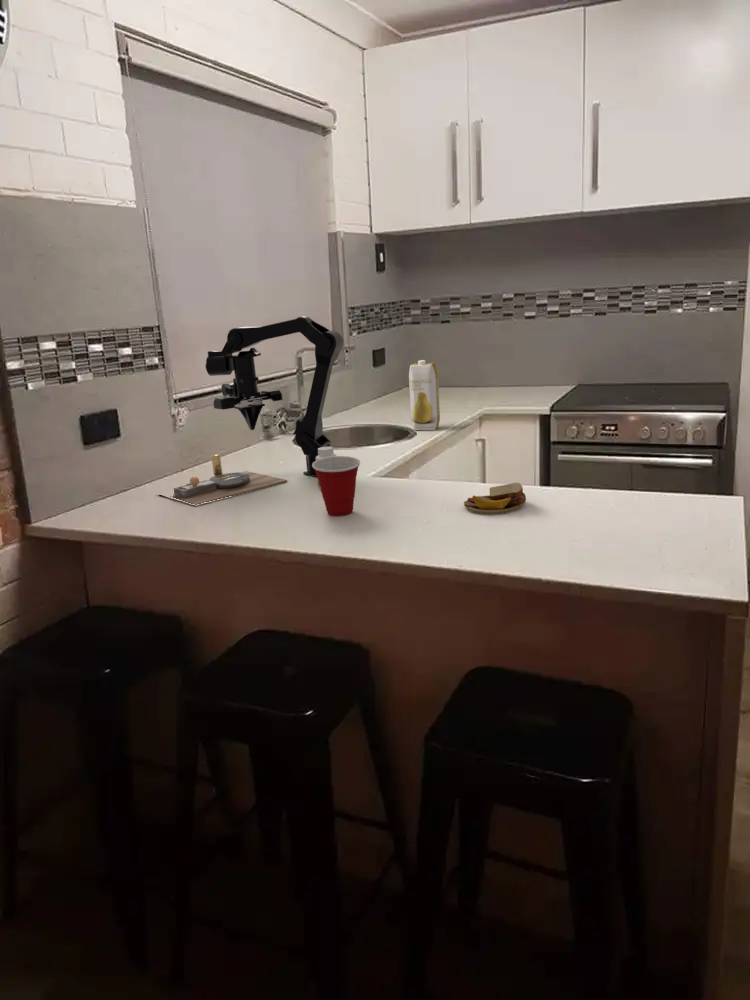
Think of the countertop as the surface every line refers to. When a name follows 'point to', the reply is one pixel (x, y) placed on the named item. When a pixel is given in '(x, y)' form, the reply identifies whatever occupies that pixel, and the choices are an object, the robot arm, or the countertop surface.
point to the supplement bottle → (325, 454)
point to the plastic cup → (337, 483)
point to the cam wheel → (227, 475)
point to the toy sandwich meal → (497, 500)
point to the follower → (196, 483)
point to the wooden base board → (211, 493)
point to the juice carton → (424, 395)
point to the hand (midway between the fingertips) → (252, 429)
